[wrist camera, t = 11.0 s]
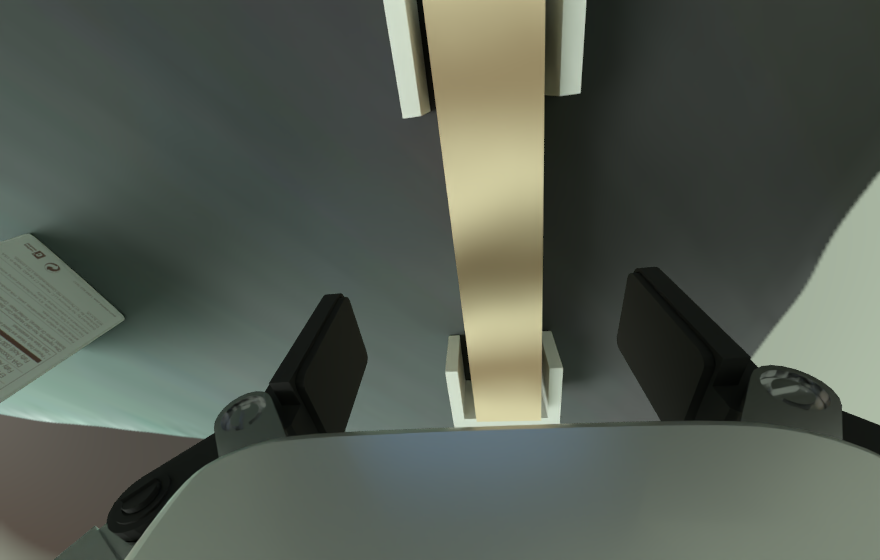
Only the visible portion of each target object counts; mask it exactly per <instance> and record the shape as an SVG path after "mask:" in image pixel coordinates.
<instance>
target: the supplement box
mask: <svg viewBox="0 0 880 560" xmlns="http://www.w3.org/2000/svg"><path fill="white" fill-rule="evenodd" d="M124 320H125V318H124V316H123V315H122V314H121V313H120V312H119V311H118V310H117V309H116V308H115V307H114V306H112V305H111V304H110V303H109V302H108V301H107V300H106V299H105V298H103V297H102V296H101V295H100V294H99V293H98V292H97V291H96V290H95V289H93V288H92V287H91V286H90V285H89V284H88V283H87V282H86V281H84V280H83V279H82V278H81V277H80V276H79V275H78V274H77V273H76V272H74V271H73V270H72V269H71V268H70V267H69V266H68V265H67V264H65V263H64V262H63V261H62V260H61V259H60V258H58V257H57V256H56V255H55V254H54V253H53V252H52V251H51V250H49V249H48V248H47V247H46V246H45V245H44V244H42V243H41V242H40V241H39V240H38V239H37V238H35V237H34V236H32V235H31V234H24V235H21V236H18V237H15V238H11V239H8V240H5V241H2V242H0V403H1V402H3V401H4V400H6V399H7V398H9V397H10V396H12V395H13V394H15V393H16V392H18V391H19V390H21V389H22V388H24V387H25V386H27V385H28V384H30V383H31V382H33V381H34V380H36V379H37V378H39V377H40V376H42V375H43V374H44V373H46V372H47V371H49V370H50V369H52V368H53V367H55V366H56V365H58V364H59V363H61V362H62V361H64V360H65V359H67V358H68V357H70V356H71V355H73V354H74V353H76V352H77V351H79V350H80V349H82V348H83V347H85V346H86V345H88V344H89V343H91V342H92V341H94V340H95V339H97V338H98V337H100V336H101V335H103V334H104V333H106V332H107V331H109V330H110V329H112V328H113V327H115V326H116V325H118V324H119V323H121V322H122V321H124Z"/></svg>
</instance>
